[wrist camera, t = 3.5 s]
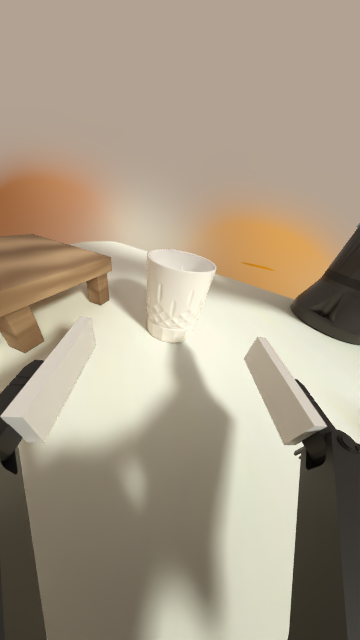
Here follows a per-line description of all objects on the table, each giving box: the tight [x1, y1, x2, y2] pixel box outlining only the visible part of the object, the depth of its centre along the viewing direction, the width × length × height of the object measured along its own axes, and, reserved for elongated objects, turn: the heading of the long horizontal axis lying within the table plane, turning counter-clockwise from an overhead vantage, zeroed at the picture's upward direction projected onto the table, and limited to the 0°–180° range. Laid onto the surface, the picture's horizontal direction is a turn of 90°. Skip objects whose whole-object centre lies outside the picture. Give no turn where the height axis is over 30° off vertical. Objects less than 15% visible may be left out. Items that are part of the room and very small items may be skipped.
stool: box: [0, 234, 112, 353], centre depth 20 cm, size 14×14×7 cm
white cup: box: [146, 249, 217, 343], centre depth 21 cm, size 8×8×10 cm
